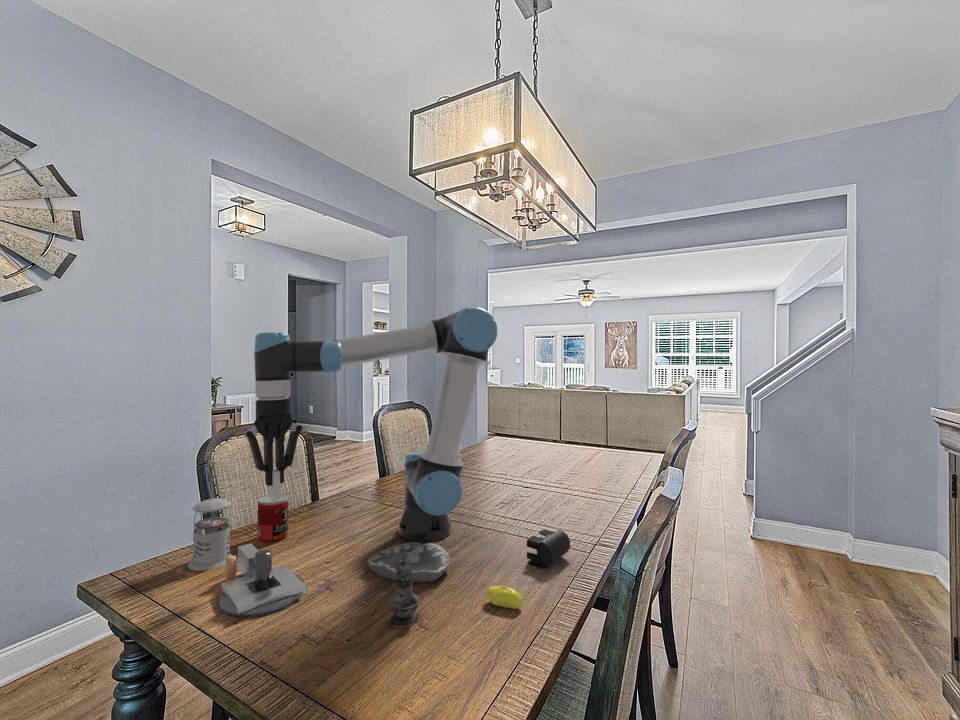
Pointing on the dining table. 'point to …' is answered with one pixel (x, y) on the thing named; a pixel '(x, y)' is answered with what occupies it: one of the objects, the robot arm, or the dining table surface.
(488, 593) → the lemon
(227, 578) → the dowel
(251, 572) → the grey plastic holder
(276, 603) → the post base
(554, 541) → the end cap
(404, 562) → the dark grey chess piece
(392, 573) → the brain slice
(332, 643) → the dining table surface
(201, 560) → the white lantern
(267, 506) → the canned food
